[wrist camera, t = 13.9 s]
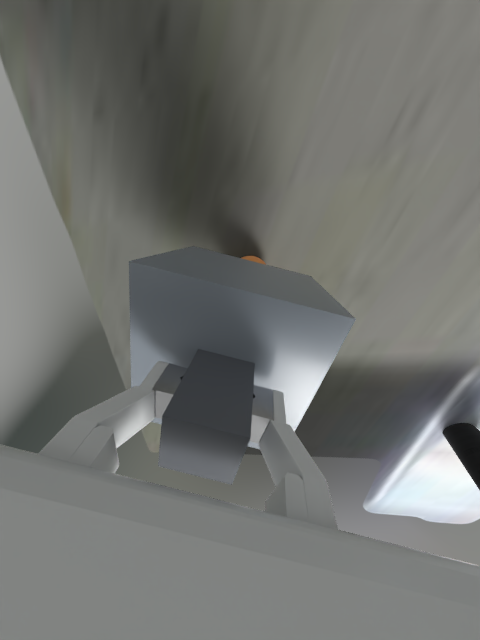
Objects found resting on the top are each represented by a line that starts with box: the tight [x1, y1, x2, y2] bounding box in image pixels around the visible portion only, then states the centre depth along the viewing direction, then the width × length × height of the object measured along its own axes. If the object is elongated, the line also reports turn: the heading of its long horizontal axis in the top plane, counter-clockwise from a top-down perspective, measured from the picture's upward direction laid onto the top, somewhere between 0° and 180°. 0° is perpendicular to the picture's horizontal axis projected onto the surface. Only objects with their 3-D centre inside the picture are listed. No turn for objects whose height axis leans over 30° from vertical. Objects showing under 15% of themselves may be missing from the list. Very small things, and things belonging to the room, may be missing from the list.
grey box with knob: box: [129, 246, 356, 485], centre depth 13 cm, size 10×10×13 cm
